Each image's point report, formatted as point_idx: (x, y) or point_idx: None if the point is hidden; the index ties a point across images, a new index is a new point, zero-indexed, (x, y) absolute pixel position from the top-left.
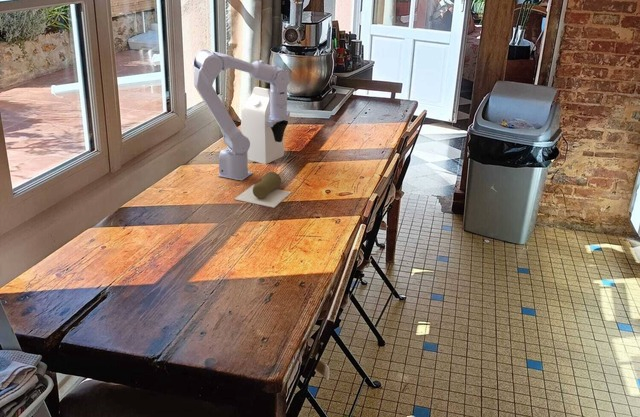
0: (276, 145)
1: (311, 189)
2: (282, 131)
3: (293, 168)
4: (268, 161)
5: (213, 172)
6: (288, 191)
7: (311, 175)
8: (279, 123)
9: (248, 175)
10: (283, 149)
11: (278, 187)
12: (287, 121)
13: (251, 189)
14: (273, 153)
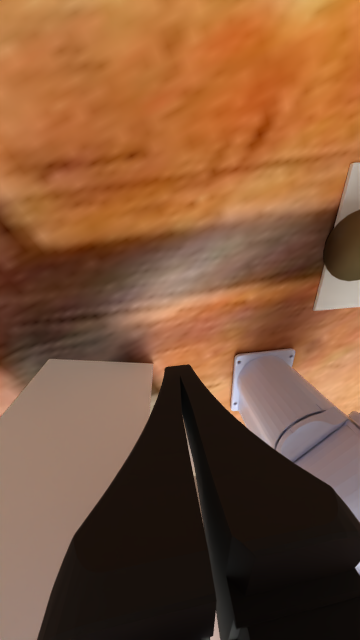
0: (73, 397)
1: (305, 86)
2: (207, 422)
3: (134, 273)
4: (137, 365)
5: None
6: (350, 176)
7: (161, 164)
8: (309, 601)
9: (261, 352)
10: (37, 374)
11: (340, 223)
12: (94, 635)
13: (348, 297)
14: (104, 378)
